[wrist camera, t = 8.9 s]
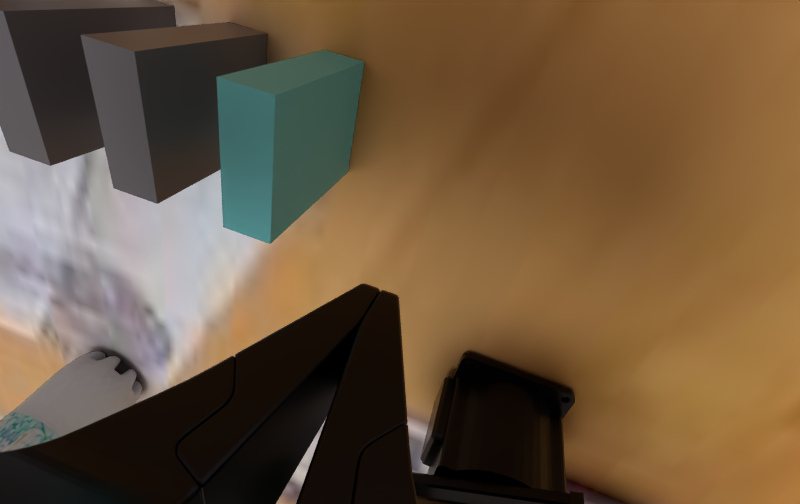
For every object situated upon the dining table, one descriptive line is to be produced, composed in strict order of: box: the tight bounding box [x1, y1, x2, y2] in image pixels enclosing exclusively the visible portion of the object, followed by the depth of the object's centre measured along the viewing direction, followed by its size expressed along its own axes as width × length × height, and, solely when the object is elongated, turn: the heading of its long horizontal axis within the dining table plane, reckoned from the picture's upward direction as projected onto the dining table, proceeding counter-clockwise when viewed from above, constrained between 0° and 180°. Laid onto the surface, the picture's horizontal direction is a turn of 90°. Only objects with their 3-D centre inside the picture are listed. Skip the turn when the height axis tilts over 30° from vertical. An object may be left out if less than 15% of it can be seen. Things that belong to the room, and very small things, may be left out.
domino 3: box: [217, 50, 364, 244], centre depth 15 cm, size 2×5×7 cm, turn 168°
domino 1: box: [0, 0, 176, 166], centre depth 16 cm, size 2×5×7 cm, turn 168°
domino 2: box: [81, 22, 267, 204], centre depth 16 cm, size 2×5×7 cm, turn 168°
